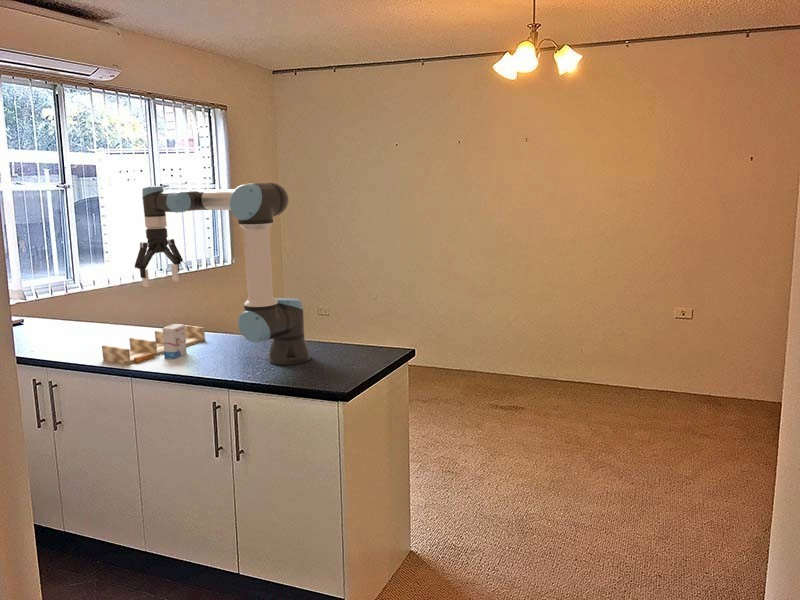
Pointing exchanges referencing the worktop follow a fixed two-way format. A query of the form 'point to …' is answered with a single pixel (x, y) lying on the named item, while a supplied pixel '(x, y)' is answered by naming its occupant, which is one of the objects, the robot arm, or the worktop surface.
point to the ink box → (174, 341)
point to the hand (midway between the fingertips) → (161, 283)
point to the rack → (148, 347)
